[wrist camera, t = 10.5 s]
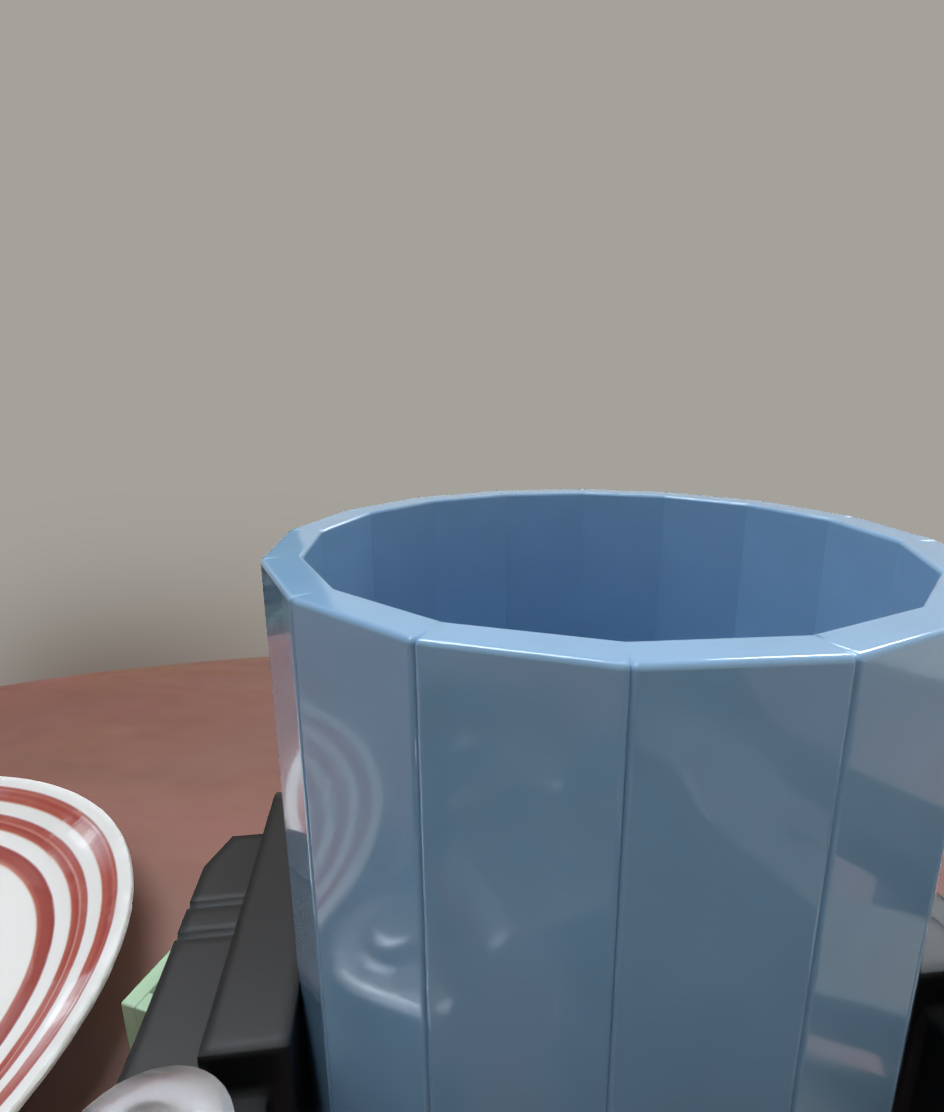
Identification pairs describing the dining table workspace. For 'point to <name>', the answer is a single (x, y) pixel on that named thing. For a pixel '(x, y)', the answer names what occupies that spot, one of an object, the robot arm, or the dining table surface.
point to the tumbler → (608, 800)
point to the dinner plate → (54, 924)
